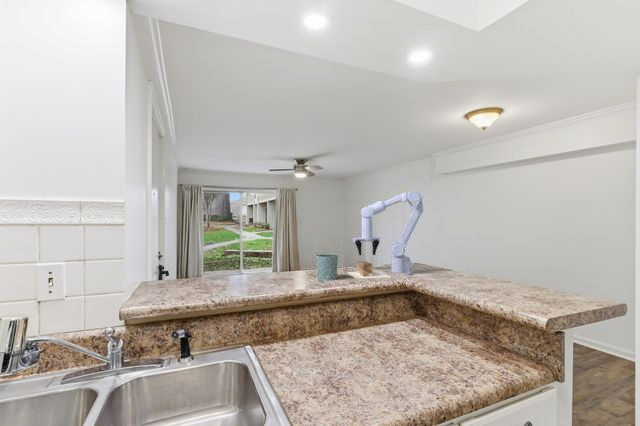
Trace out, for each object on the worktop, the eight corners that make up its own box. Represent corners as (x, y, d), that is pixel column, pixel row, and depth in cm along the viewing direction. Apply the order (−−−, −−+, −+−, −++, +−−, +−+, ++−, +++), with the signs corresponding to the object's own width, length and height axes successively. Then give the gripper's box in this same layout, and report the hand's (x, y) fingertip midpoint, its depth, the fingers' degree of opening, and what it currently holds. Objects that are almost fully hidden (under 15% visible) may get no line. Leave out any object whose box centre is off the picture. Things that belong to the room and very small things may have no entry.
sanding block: (365, 272, 152) (365, 260, 152) (372, 276, 142) (372, 263, 142) (357, 272, 151) (357, 261, 152) (363, 276, 142) (363, 263, 142)
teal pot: (341, 282, 134) (341, 255, 135) (320, 284, 131) (320, 256, 131) (332, 278, 144) (332, 253, 144) (312, 280, 140) (312, 254, 140)
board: (380, 273, 156) (380, 271, 156) (392, 279, 140) (392, 277, 140) (347, 274, 153) (347, 272, 153) (355, 281, 137) (355, 278, 137)
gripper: (377, 229, 164) (377, 253, 164) (351, 229, 162) (352, 254, 162) (381, 229, 157) (382, 255, 157) (355, 229, 155) (355, 255, 155)
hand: (367, 254), depth 159 cm, fingers open, 7 cm apart
